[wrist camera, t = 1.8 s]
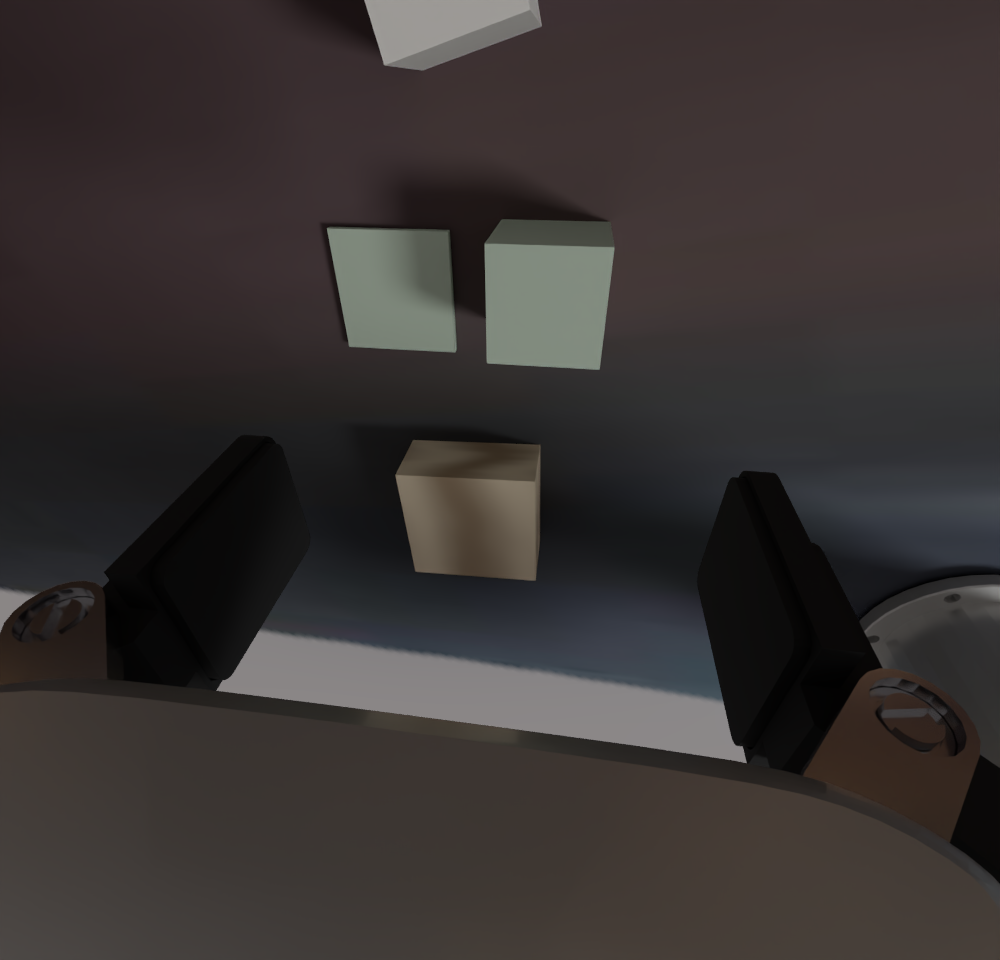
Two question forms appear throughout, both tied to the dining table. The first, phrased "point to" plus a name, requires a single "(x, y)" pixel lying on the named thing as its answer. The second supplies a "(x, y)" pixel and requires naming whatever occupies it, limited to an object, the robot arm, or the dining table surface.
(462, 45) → the offwhite cube
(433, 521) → the tan square block
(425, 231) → the sage swatch
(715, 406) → the dining table surface
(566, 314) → the sage cube
